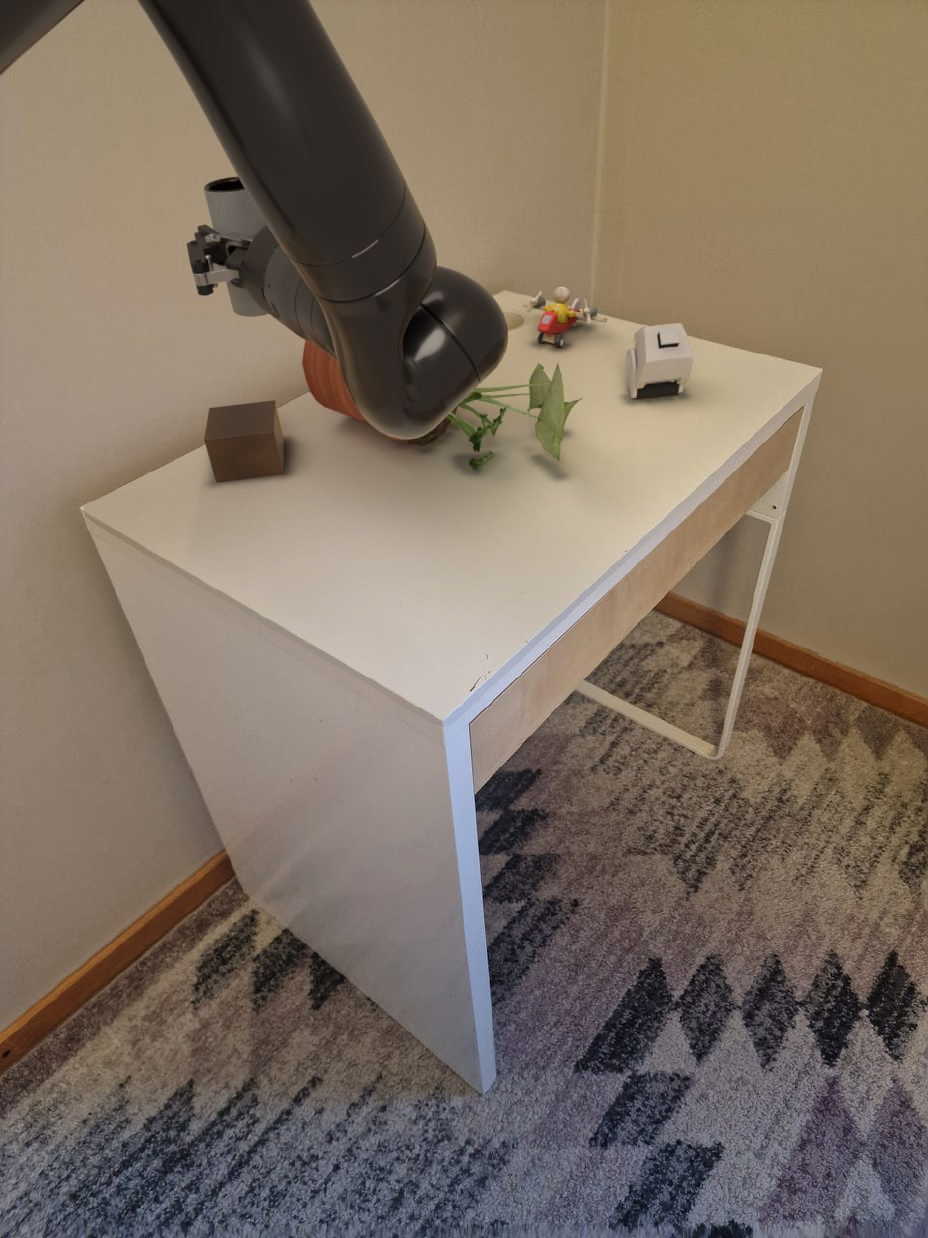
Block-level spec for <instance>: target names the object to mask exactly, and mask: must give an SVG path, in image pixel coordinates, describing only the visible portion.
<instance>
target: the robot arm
mask: <svg viewBox="0 0 928 1238" xmlns="http://www.w3.org/2000/svg"><path fill="white" fill-rule="evenodd" d="M136 1H137V3H138V4H139V6H140V7H141V8H142V10H143V11H144V13H145V15H146V16H147V18H148V20H149V21H150V23H151V25H152V26H153V28H154V29H155V31H156V33H157V34H158V35H159V37H160V39H161V41H162V42H163V44H164V45H165V47H166V48H167V50H168V52H169V53H170V55H171V57H172V59H173V61H174V62H175V64H176V66H177V68H178V69H179V70H180V72H181V74H182V76H183V78H184V79H185V81H186V83H187V85H188V86H189V88H190V90H191V92H192V93H193V96H194V97H195V99H196V101H197V102H198V105H199V107H200V109H201V111H202V112H203V114H204V116H205V119H206V120H207V121H208V124H209V125H210V128H211V130H212V131H213V133H214V134H215V137H216V139H217V141H218V142H219V144H220V146H221V148H222V150H223V151H224V153H225V155H226V157H227V159H228V161H229V163H230V165H231V166H232V168H233V170H234V172H235V173H236V176H237V177H239V179H240V181H241V183H242V184H243V186H244V188H245V190H246V191H247V193H248V195H249V196H250V198H251V200H252V202H253V203H254V205H255V207H256V208H257V210H258V212H259V213H260V215H261V217H262V218H263V220H264V222H265V223H266V226H265V227H263V228H262V229H261V230H260V231H259V232H258V233H257V234H253V235H250V236H249V235H244V234H240V233H236V232H232V233H229V234H226V235H220V234H219V233H218V232H216V231H215V230H214V229H213V227H210V226H209V225H208V224H206V223H205V224H201V225H198V226H197V231H196V232H193V233H194V235H193V236H194V239H192V240H190V241H188V242H186V248H187V253H188V261H189V265H190V268H191V273H192V276H193V279H194V283H195V288H196V290H197V295H199V296H205V297H207V296H210V295H212V294H214V289H216V288H218V287H219V284H220V283H226V281H230V282H231V284H232V285H234V286H235V287H238V288H244V289H247V291H248V292H249V293H250V295H251V296H252V298H253V299H254V300H255V301H256V303H257V304H258V305H259V306H260V307H261V308H262V309H264V310H265V311H266V312H267V313H269V314H268V315H269V316H271V317H272V318H274V319H275V320H277V322H279V323H280V324H281V325H283V326H284V327H285V328H287V329H288V330H289V331H291V332H292V333H294V334H295V335H296V336H298V337H299V338H300V339H302V340H306V341H309V342H311V343H314V344H315V345H317V346H318V347H319V348H321V349H322V350H323V351H324V352H326V353H327V354H328V355H330V356H331V357H332V358H334V359H335V360H337V361H338V365H339V369H340V372H341V375H342V377H343V380H344V383H345V386H346V388H347V391H348V393H349V395H350V397H351V399H352V401H353V402H354V404H355V406H356V407H357V409H358V410H359V412H360V413H361V414H362V416H363V417H364V418H365V419H366V420H367V421H368V422H369V423H370V426H372V427H373V428H374V429H376V430H377V431H378V432H379V431H380V432H379V433H381V432H382V433H383V434H382V433H381V434H382V435H384V434H385V435H387V436H390V437H393V438H398V439H415V438H419V437H422V436H424V435H426V434H427V433H429V432H430V431H431V430H433V429H434V428H435V427H436V426H437V425H438V424H439V423H440V422H441V421H442V420H443V419H444V418H445V417H446V416H447V415H448V414H449V413H451V412H452V411H453V410H454V409H455V408H456V407H457V406H458V405H459V404H460V403H461V402H462V401H463V400H464V399H465V398H466V397H467V396H468V395H469V394H470V393H471V392H472V391H473V390H474V389H475V388H478V386H479V385H480V384H482V382H484V381H485V380H486V379H487V378H488V377H489V376H490V375H491V374H492V373H493V372H494V370H496V369H497V367H498V366H499V364H501V362H502V361H503V358H504V356H505V355H506V352H507V348H508V344H509V331H508V324H507V321H506V318H505V314H504V312H503V310H502V308H501V306H500V305H499V303H498V301H497V300H496V299H495V297H493V295H492V294H491V293H490V292H489V291H488V290H487V289H486V288H485V287H483V285H481V284H480V283H478V282H477V281H476V280H475V279H473V278H471V277H469V276H468V275H465V274H464V273H462V272H459V271H457V270H455V269H452V268H448V267H445V266H442V265H438V263H437V261H438V260H437V259H438V258H437V251H436V246H435V243H434V240H433V237H432V235H431V233H430V230H429V228H428V226H427V222H426V221H425V219H424V217H423V215H422V213H421V211H420V209H419V206H418V204H417V202H416V200H415V197H414V195H413V193H412V192H411V189H410V187H409V184H408V182H407V181H406V178H405V176H404V175H403V173H402V170H401V169H400V166H399V164H398V162H397V160H396V158H395V155H394V154H393V151H392V150H391V148H390V146H389V144H388V142H387V140H386V138H385V136H384V134H383V132H382V131H381V129H380V126H379V124H378V123H377V121H376V119H375V117H374V115H373V113H372V112H371V109H370V108H369V107H368V104H367V103H366V101H365V99H364V97H363V95H362V94H361V91H360V90H359V89H358V87H357V85H356V83H355V81H354V80H353V77H352V76H351V74H350V72H349V71H348V68H347V67H346V65H345V63H344V61H343V60H342V58H341V56H340V54H339V52H338V51H337V49H336V47H335V44H333V41H332V40H331V38H330V35H329V34H328V33H327V30H326V29H325V28H324V25H323V23H322V21H321V20H320V18H319V16H318V15H317V13H316V11H315V9H314V6H313V4H312V3H311V1H310V0H136ZM84 2H86V0H0V77H1V76H3V75H4V74H5V73H6V72H7V71H8V70H9V69H10V68H11V67H12V66H13V65H14V64H15V63H16V62H17V61H18V60H20V59H21V58H22V57H23V56H24V55H25V54H26V53H28V52H29V50H31V49H32V48H33V47H34V46H35V45H36V44H38V43H39V42H40V41H41V40H42V39H44V37H46V36H47V35H48V34H49V33H50V32H51V31H52V30H53V29H55V27H57V26H58V25H59V24H60V23H62V22H63V21H64V20H65V19H66V18H67V17H68V16H70V15H71V14H72V13H73V12H74V11H75V10H76V9H77V8H78V7H80V6H81V5H82V4H83V3H84ZM458 407H459V406H458ZM369 423H368V424H369ZM385 435H384V436H385Z"/></svg>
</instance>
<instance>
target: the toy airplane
mask: <svg viewBox="0 0 928 1238" xmlns="http://www.w3.org/2000/svg"><path fill="white" fill-rule="evenodd" d="M542 294H543V291H542V290H540V291H539V292H538V294H537V295H534V296H532V297H531V299H530V302H526V301H523V304H522V307H524V308H526V312H527V313H530V312H531V311H532V309H534V310H538V311H544V313H543V314H542V316H541V318H540V320H539V324H538V327H537V332H539V333H538V336H537V343H539V344H541V345H543V344H544V342H547V343H550V344H556V347H557V348H562V347H564V343H565V337H564V336H563V334H564V333H565V332H566V331H567V330H569V328H570V327H576V326H577V323H578V321H579V322H585V323H587V325H591V324H592V321H593V322H599V323H608V322H607V321H608V318H607V317H605V316H599V315H598V309H597V307H595V306H594V305H588V301H587V298H583V304H584V308H583V310H582V311H581V310H580V308H581V303H582V299H581V298H578V297H576V298H575V299H574V300H573V302H572V304H571V306H570V308H569V306H568V305H567V304H566V302H568V301H569V299H570V295H571V292H570V290H569V289H568V288H567V287H566V286H559V287H557V288H555V290H554V292H553V299H554V301H555V302H554V303H552V305H546V304H547V301H546V299H545V297H543V296H542Z"/></svg>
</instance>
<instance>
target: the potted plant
mask: <svg viewBox="0 0 928 1238" xmlns="http://www.w3.org/2000/svg"><path fill="white" fill-rule="evenodd" d="M303 345H304V346H303V351H302V352H303V353H302V361H301V362H302V363H301V365H302V370H303V373H304V378H305V381H306V384H307V387H308V391H309V393H310V394H311V395H312V397H313V398H314V400H315V401H316V402H317V403H318V404H319V405H321V406H322V407H324V408H325V409H328V410H331V411H334V412H337V413H340V414H342V415H345V416H347V417H350V418H353V419H356V420H359V421H361V422H364V423H367V424H370V423H369V422H368V421H367V420H366V419H365V418H364V417H363V416H362V414H361V413H360V412H359V410H358V409H357V407H356V406H355V404H354V402H353V401H352V399H351V397H350V395H349V393H348V391H347V388H346V386H345V383H344V380H343V377H342V375H341V372H340V369H339V365H338V361H337V360H335V359H334V358H332V357H331V356H330V355H328V354H327V353H326V352H324V351H323V350H322V349H321V348H319V347H318V346H317V345H315V344H314V343H311V342H309V341H306V340H305V341H304V344H303ZM544 369H545V367H544V366H543V365H542V364H541V363H540V362H538V363H537V364H536V365H535V368H534V369H533V371H532V374H531V375H530V377H529V380H528V383H529V384H516V385H507V386H496V387H495V386H494V387H476V388H475V389H474V390H473V391H472V392H471V393H470V394H469V395H468V396H467V397H466V398H465V399H464V400H463V401H462V402H461V403H460V404H459V405H458V406H457V407H456V408H455V409H454V410H453V411H452V412H451V413H449V414H448V415H447V416H446V417H445V418H444V419H443V420H442V421H441V422H440V423H439V424H438V425H437V426H436V427H435V428H434V429H433V430H431V431H430V432H429V433H427V434H426V435H424V436H422V437H419V438H415V439H398V438H393V437H390V436H387V435H385V434H383V433H382V432H380V431H378V432H379V433H381V434H382V435H383V436H385V437H386V438H388V439H389V440H392V441H398V442H402V443H406V444H414V445H421V446H422V445H423V446H424V445H426V444H428V443H430V442H433V441H435V440H436V439H437V438H438V437H439V436H440V435H442V434H443V433H444V432H445V431H446V430H447V428H448V427H449V426H450V423H453V424H455V425H456V426H457V427H459V428H460V430H461V431H462V433H463V434H464V435H465V436H467V437H468V438H469V439H468V441H469V443H471V445H472V449H473V452H477V453H480V450H481V449H483V450H484V449H485V448H484V447H483V446H482V441H483V439H484V438H485V437H486V436H487V435H489V434H491V435H492V438H495V435H496V433H497V430H498V429H499V426H500V425H502V423H503V417H504V415H505V413H506V411H507V410H508V409H509V410H511V411H514V412H517V413H519V414H522V415H525V416H527V417H530V418H533V419H535V420H537V421H536V422H535V423H534V428H535V437H536V438H537V440H538V442H539V443H540V444H541V446H542V448H543V450H545V451H546V452H547V453H549V455H550V456H551V457H553V459H556V461H558V462H560V455H561V442H562V441H563V440H564V439H563V438H564V431H565V424H566V422H567V419H568V416H569V415H570V412H571V410H572V409H573V408H574V407H575V405H577V403H578V402H580V401H581V400H583V397H581V398H579V399H575V400H572V401H565V393H564V391H565V390H564V383H563V375H562V372H561V369H560V365H559V362H557V363H556V366H555V369H554V372H553V376H552V378H551V379H550V378H549V376H548V375H547V373H546V372H545V370H544ZM525 387H528V389H529V393H528V392H527V393H506V394H485V393H492V392H502V391H507V390H513V389H520V388H525ZM483 393H484V394H483ZM527 395H529V402H528V403H529V404H528V408H527V409H526V410H527V412H526V411H524V410H521V409H518V408H516V407H513V406H511V405H509V404H510V403H508V404H506V403H503V402H501V401H499V400H496V399H499V398H507V397H517V396H527ZM474 401H479V402H484V403H488V404H491V405H492V404H493V405H495V406H499V407H500V408H499V411H498V412H499V415H498V416H497V417H496V418H493V420H492V421H491V420H490V419H489V418H488V413H486V414H485V413H484V414H482V413H481V412H479V411H477V410H476V409H475V408H473V407H472V406H470V405H469V404H468V403H471V402H474ZM459 407H460V408H462V409H464V410H466V411H469V412H471V413H473V414H474V415H475V416H476V417H477V418H478V419H480V421H481V425H482V427H481V426H477V429H475V427H473V426H472V424H470V423H469V422H467V421H466V420H465V419H463V418H462V417H460V416H458V415H457V414H456V413H457V410H458V408H459ZM502 407H503V408H502ZM533 409H539V410H540V411H539V415H538V416H536V415H534V414H531V413H530V411H531V410H533ZM370 425H371V424H370ZM488 453H489V454H488V455H487V456H486V455H484V456H483V457H482V458H478V459H476V458H475V457H473V458H470V460H469V461H468V466H469V467H472V469H473V470H477V469H478V468H479V467H480V466H482V465H483V464H484V463H485V462H486V461H487V460H488V459H489V458H490V457H492V456H493V454H494V452H493V451H492V450H491V449H490V451H489V452H488Z"/></svg>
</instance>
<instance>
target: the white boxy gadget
mask: <svg viewBox="0 0 928 1238" xmlns="http://www.w3.org/2000/svg"><path fill="white" fill-rule="evenodd" d="M625 357H626V360H625V361H626V375H627V384H628V389H629V395H630V396H629V397H630V398H631V399H636V400H641V399H649V398H661V397H670V396H678V395H679V394H681V393H683V391H684V385H685V384H686V383H687V381H688V379H689V378H690V374H691V371H692V367H693V363H694V353H693V350H692V348H691V345H690V342H689V338H688V334H687V332H686V329H685V327H684V325H683V323H682V322H675V323H664V324H656V325H648V326H647V325H646V326H643V327H641V328H639V329H638V330H636V331H635V333H634V348H629V349H628V350H627V351H626V356H625Z"/></svg>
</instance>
